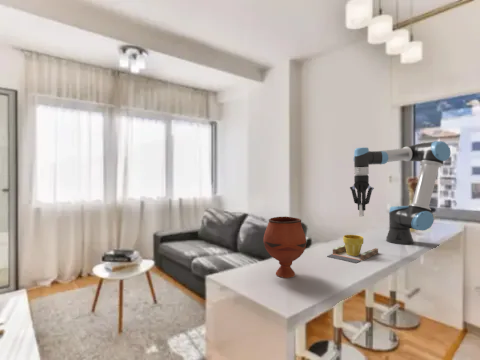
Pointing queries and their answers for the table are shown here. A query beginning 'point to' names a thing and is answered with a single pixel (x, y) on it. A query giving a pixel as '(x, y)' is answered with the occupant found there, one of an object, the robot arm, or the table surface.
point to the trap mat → (344, 258)
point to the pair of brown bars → (362, 256)
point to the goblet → (285, 242)
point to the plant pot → (353, 244)
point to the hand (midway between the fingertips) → (361, 216)
